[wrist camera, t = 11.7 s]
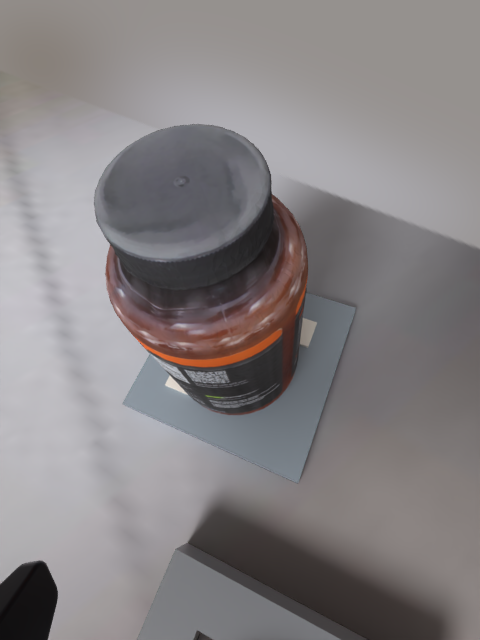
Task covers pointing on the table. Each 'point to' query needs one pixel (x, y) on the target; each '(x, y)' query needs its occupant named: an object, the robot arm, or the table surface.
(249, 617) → the button housing
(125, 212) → the supplement bottle
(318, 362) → the two-pip tile
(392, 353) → the table surface
